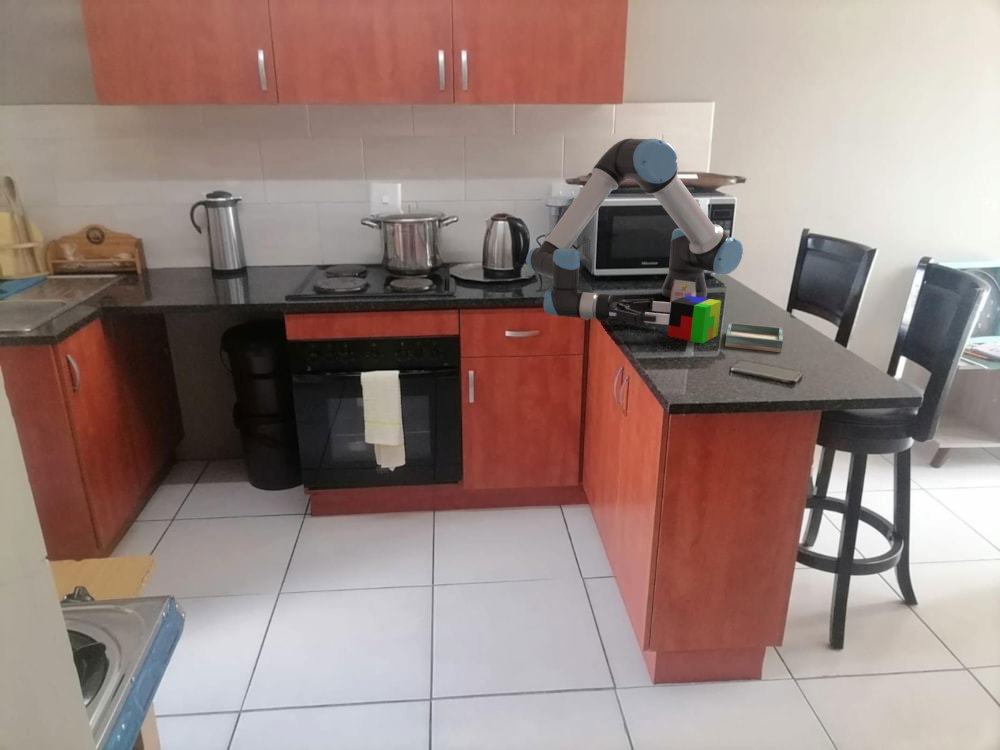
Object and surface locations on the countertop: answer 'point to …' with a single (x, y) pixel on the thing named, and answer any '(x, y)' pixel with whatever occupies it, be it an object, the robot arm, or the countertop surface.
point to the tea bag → (682, 289)
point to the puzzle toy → (694, 318)
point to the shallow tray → (754, 337)
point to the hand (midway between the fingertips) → (672, 313)
